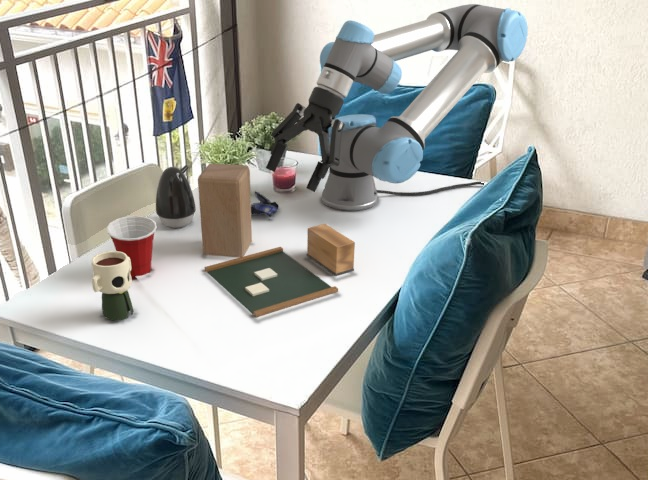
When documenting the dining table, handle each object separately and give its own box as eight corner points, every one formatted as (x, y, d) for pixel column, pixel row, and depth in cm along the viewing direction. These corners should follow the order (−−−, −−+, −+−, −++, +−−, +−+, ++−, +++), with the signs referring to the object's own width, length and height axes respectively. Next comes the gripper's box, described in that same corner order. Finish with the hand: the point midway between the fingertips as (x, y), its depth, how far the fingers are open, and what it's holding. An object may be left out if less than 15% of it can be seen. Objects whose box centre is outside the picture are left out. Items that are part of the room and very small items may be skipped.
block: (243, 261, 163) (239, 179, 153) (202, 257, 165) (196, 176, 154) (252, 243, 172) (250, 164, 161) (213, 240, 173) (208, 161, 162)
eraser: (324, 254, 166) (325, 223, 162) (353, 274, 157) (355, 242, 153) (306, 259, 164) (306, 228, 160) (335, 280, 155) (336, 247, 151)
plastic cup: (119, 289, 153) (112, 239, 146) (109, 268, 161) (101, 220, 155) (167, 279, 156) (162, 230, 150) (154, 259, 165) (149, 212, 158)
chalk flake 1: (269, 270, 157) (269, 267, 157) (277, 276, 155) (277, 273, 155) (254, 274, 156) (254, 272, 155) (261, 280, 153) (261, 278, 153)
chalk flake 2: (261, 284, 152) (261, 282, 151) (269, 291, 149) (269, 289, 149) (245, 289, 150) (244, 287, 150) (252, 296, 147) (252, 293, 147)
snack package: (254, 201, 194) (224, 213, 187) (257, 180, 190) (227, 191, 183) (286, 219, 189) (257, 232, 181) (290, 197, 185) (260, 210, 177)
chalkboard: (280, 253, 167) (280, 246, 166) (338, 295, 149) (338, 288, 148) (204, 273, 158) (204, 266, 157) (256, 321, 141) (256, 313, 140)
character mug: (114, 332, 138) (104, 274, 131) (87, 323, 141) (76, 265, 134) (148, 307, 146) (141, 251, 139) (122, 299, 149) (114, 244, 142)
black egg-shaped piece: (205, 222, 182) (201, 165, 174) (176, 235, 176) (170, 177, 168) (178, 212, 188) (173, 157, 180) (149, 225, 181) (142, 168, 173)
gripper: (282, 72, 161) (244, 157, 166) (363, 102, 147) (319, 195, 152) (301, 84, 167) (264, 166, 172) (380, 114, 153) (337, 203, 158)
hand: (289, 180), depth 162 cm, fingers open, 13 cm apart
